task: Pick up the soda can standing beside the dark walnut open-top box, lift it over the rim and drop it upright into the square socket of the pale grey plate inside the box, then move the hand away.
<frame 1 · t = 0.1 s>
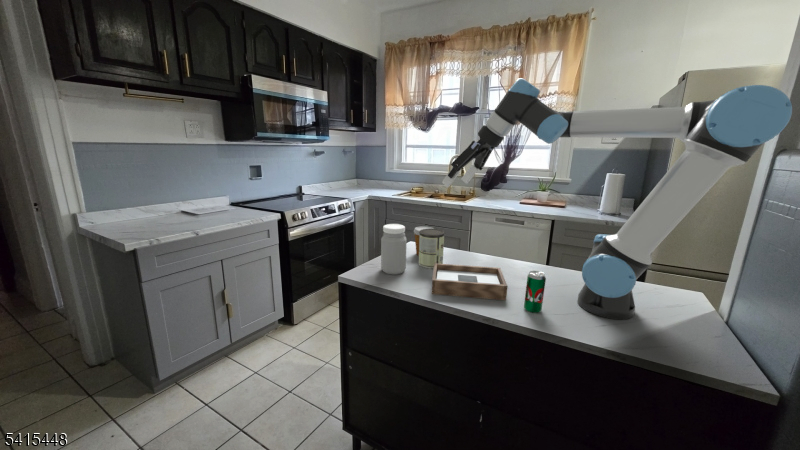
hand: (455, 183, 110), 36 cm above the counter, tool tilted 35°, fingers open, 13 cm apart
open box: (466, 286, 114), on the counter
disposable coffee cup: (423, 254, 147), on the counter
soda can: (532, 310, 99), on the counter
jar: (393, 270, 127), on the counter
socket plate: (467, 283, 114), in the open box
coffee can: (430, 264, 135), on the counter
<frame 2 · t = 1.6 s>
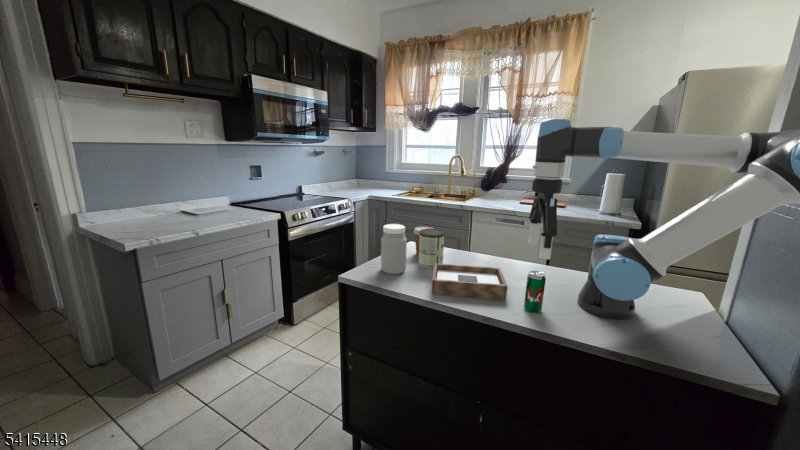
hand: (538, 251, 95), 19 cm above the counter, tool pointing down, fingers open, 13 cm apart
nothing on the counter moved.
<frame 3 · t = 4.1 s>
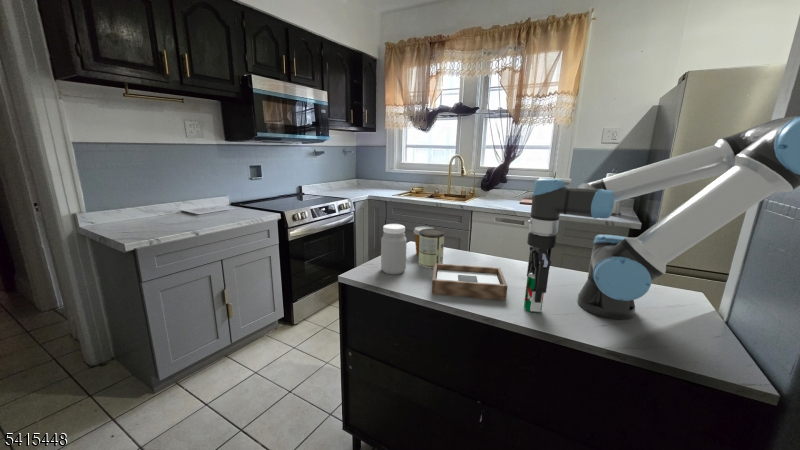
hand: (532, 306, 98), 1 cm above the counter, tool pointing down, fingers closed on soda can, 5 cm apart
soda can: (532, 310, 99), on the counter, touching gripper
everything else where it was.
when the fingers open (5 cm above the counter, at t = 10.4 s): soda can drops 4 cm, resting in socket plate.
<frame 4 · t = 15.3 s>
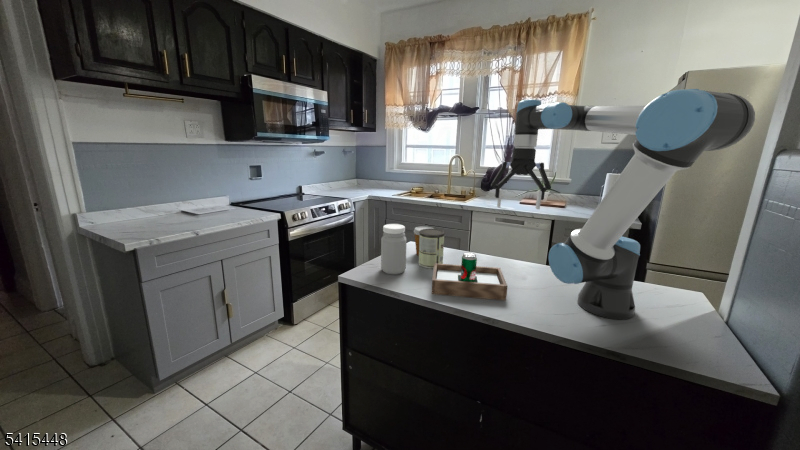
hand: (517, 207, 118), 27 cm above the counter, tool pointing down, fingers open, 13 cm apart
soda can: (467, 287, 114), resting in socket plate
everything else where it was.
at the end: soda can 0.1 cm off-centre on the socket plate, point 0.0 cm above the socket plate's base; soda can tilted 0°; the gripper is holding nothing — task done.
